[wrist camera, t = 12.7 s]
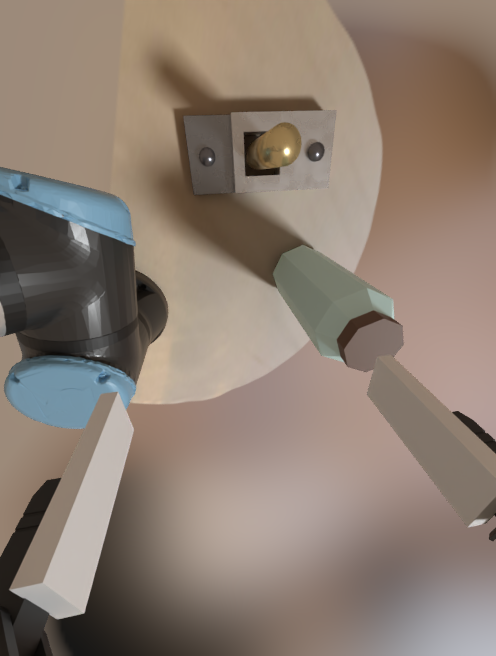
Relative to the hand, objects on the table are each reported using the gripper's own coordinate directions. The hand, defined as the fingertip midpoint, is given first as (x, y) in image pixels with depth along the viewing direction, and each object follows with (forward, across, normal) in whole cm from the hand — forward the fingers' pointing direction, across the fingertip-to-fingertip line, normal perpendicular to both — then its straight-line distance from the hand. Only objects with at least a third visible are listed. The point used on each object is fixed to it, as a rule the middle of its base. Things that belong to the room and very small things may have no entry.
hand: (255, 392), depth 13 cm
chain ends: (+35, +7, +12) cm, 37 cm away
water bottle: (+35, +14, -6) cm, 38 cm away
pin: (+35, +7, +12) cm, 37 cm away
